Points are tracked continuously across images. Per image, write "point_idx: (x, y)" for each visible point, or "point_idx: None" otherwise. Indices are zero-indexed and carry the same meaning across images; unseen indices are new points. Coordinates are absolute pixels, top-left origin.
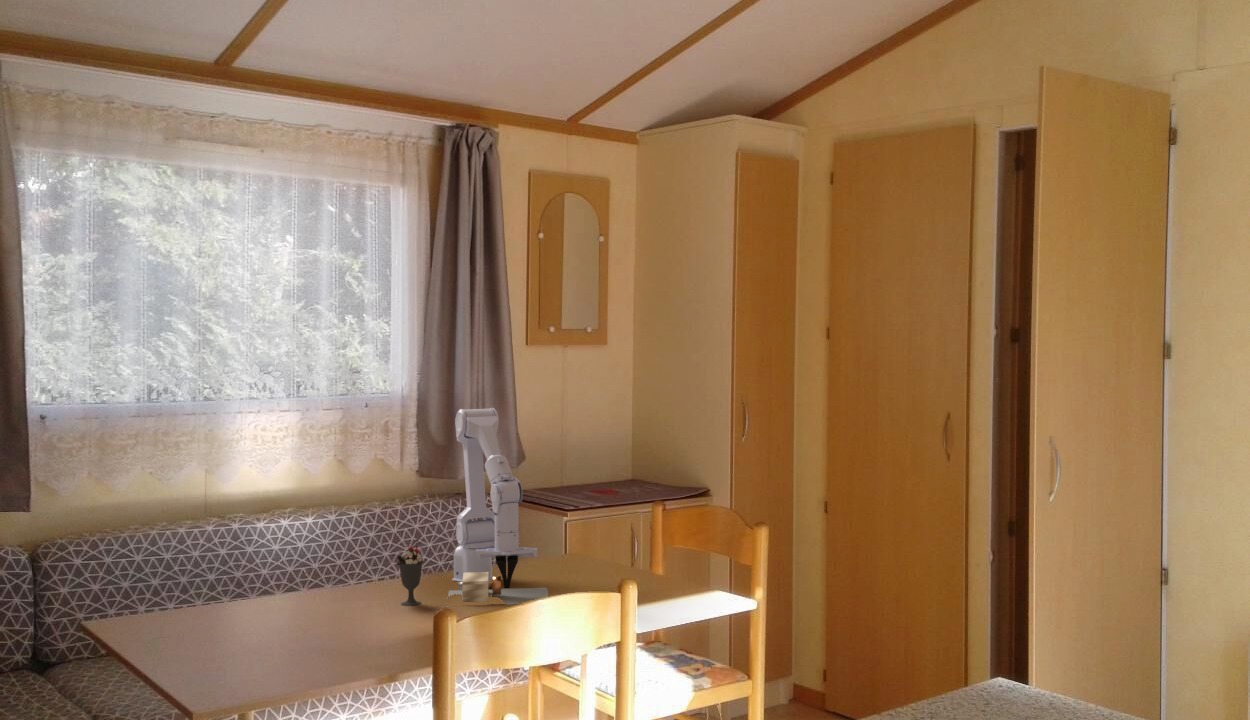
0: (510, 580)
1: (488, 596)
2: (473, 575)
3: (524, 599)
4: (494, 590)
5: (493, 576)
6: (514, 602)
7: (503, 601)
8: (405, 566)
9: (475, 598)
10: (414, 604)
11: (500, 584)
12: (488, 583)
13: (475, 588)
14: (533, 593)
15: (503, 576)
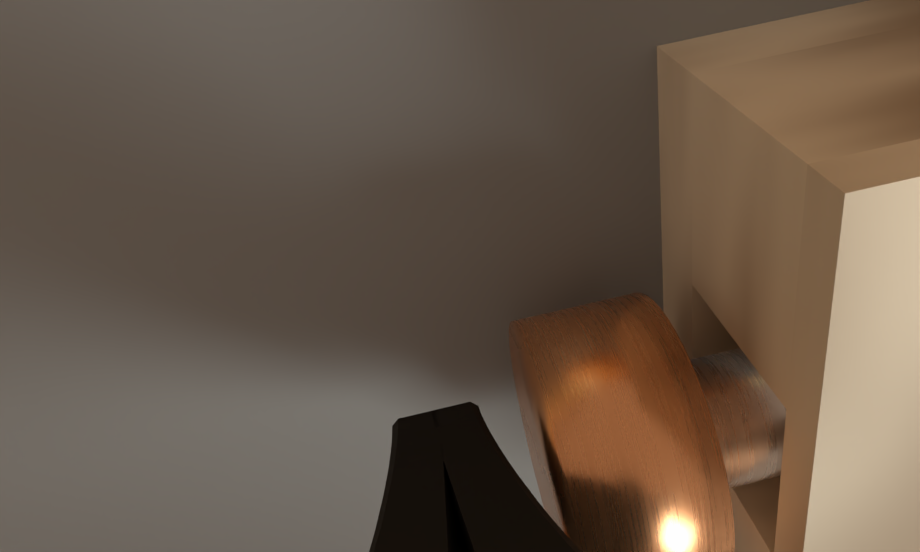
0: (385, 501)
1: (667, 313)
2: None
3: (127, 254)
4: (617, 301)
5: (716, 537)
6: (229, 61)
7: (427, 110)
8: None
9: (885, 20)
10: None
11: (547, 383)
12: (751, 408)
13: None
14: (123, 533)
15: (530, 530)
